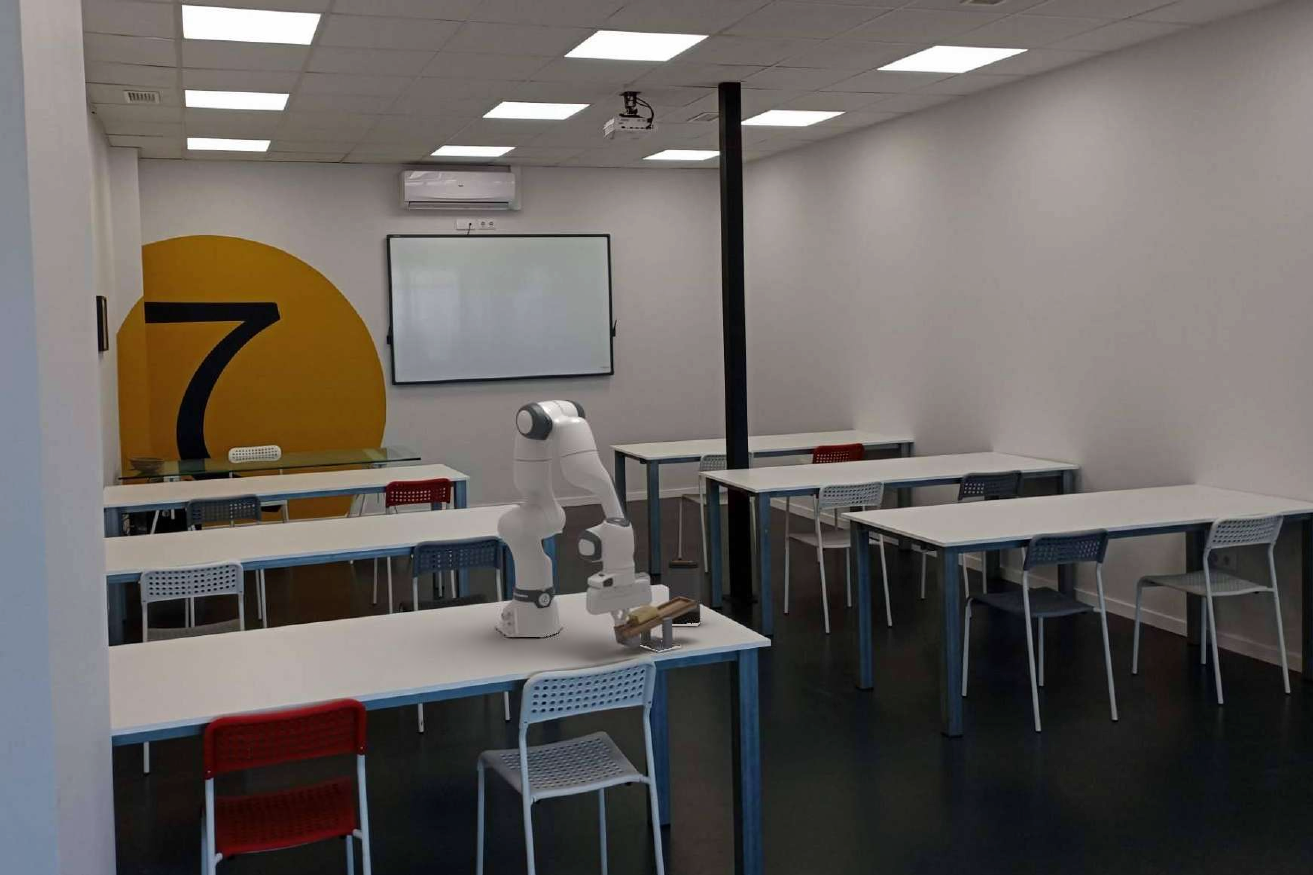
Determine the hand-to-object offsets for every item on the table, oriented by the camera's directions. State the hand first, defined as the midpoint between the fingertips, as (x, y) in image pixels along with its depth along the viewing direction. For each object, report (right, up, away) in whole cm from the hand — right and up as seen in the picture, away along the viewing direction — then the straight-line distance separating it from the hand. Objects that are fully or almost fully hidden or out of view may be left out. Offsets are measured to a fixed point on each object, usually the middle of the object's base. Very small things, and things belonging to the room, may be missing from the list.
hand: (620, 625), depth 315 cm
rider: (+7, 0, +5) cm, 8 cm away
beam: (+11, -3, +8) cm, 14 cm away
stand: (+10, -7, +8) cm, 15 cm away
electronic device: (+19, -5, +32) cm, 37 cm away
